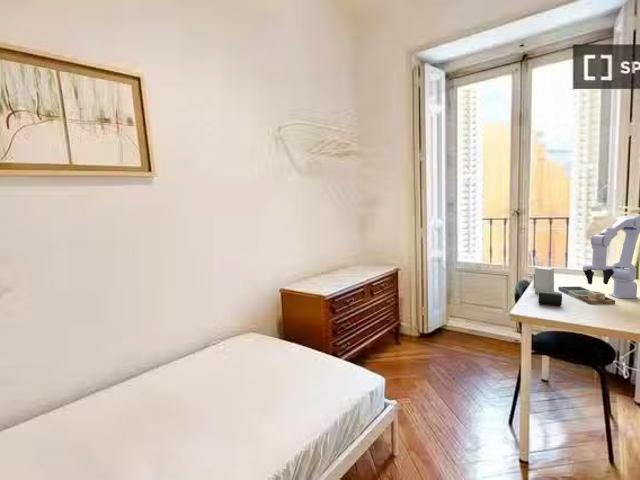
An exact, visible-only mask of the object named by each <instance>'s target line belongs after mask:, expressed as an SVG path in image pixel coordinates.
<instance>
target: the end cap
mask: <svg viewBox="0 0 640 480" xmlns="http://www.w3.org/2000/svg"><path fill="white" fill-rule="evenodd" d="M562 293H563V292H562ZM562 293H561V292H560V291H559V292H557V291H554V292H547V291H539V293H538V304H539V305H544V306H545V305H546V306H555V307H561V306H562V305H563V304H562V303H563V294H562Z"/></svg>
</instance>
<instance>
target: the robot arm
mask: <svg viewBox="0 0 640 480" xmlns="http://www.w3.org/2000/svg"><path fill="white" fill-rule="evenodd" d="M620 231H623V232H624V233H625V237H624V241H623V245H622V249H621V254H620V258H619V261H618V262H616V263H614V264H613V265H607V252H608V247H609V246H610V244H611V242H612V240H614V238H615V237H617V235H618V232H620ZM639 234H640V215H623V214H622V215H621V214H619V216H618V217H616V220H615V223H614V224H613V225H611V226H610V227H609V226H607V227H605V229H603V230H602V231H601V232H600V233H598V234H594V235H593V236H592V237H591V238H590V244H591V249H592V261H591V265H583V266H582V270H583V273H584V275H585V277H586V280H587V284H588V285H593V278H594V275H595V272H594V271H602V275H603V277H602V278H603V279H602V281H603V284H605V285H608V283H609V281H610V279H612V280H613V291H612V292H613V293H608V295H610V296H612V297H615V298H617V299H638V298H639V297H638V296H637V295H638V293H637V292H638V284H637V282H636V281H635V280H636V279H637V275H638V274H637V267H636V266H635V265H634V264H632V263H633V258H634V254H635V249H636V245H637V241H638V238H639V237H638V236H639Z"/></svg>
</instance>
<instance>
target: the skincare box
mask: <svg viewBox="0 0 640 480" xmlns="http://www.w3.org/2000/svg"><path fill="white" fill-rule="evenodd" d="M534 274H535V287H534V293H535V294H539V291H547V292H555V268H554V267H545V266H544V267H543V266H537V267H535V268H534Z"/></svg>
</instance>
